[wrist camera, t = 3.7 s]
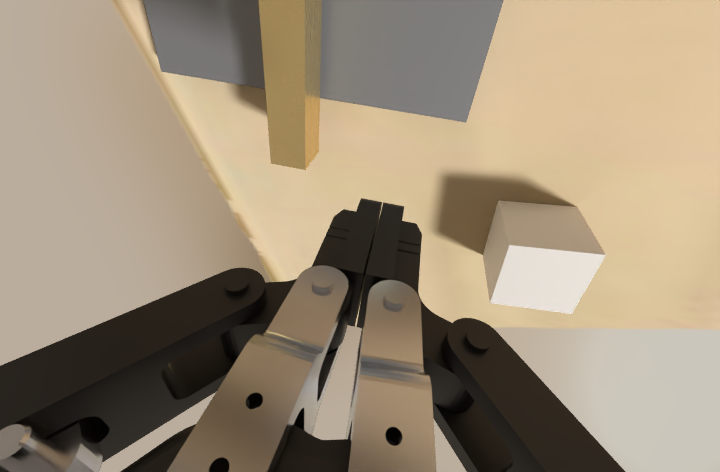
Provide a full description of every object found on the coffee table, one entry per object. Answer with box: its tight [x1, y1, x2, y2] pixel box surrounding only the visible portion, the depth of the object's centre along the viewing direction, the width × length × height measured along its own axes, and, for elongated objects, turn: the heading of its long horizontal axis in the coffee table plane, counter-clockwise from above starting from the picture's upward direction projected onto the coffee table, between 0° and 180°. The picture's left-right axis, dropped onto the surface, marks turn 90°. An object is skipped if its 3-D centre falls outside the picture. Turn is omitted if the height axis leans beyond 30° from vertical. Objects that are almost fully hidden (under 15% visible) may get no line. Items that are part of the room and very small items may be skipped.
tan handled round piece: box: [259, 0, 322, 170], centre depth 18 cm, size 18×7×4 cm, turn 174°
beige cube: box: [483, 200, 606, 314], centre depth 26 cm, size 6×6×6 cm
